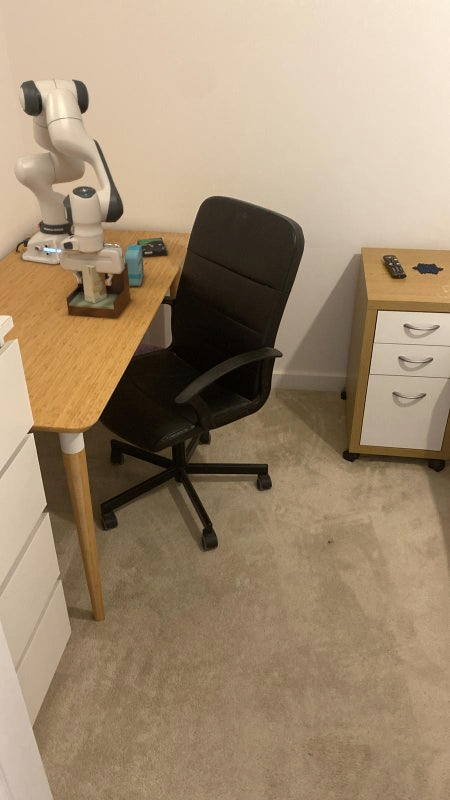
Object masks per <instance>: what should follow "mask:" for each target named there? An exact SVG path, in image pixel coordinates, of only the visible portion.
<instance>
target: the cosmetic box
mask: <svg viewBox="0 0 450 800" xmlns="http://www.w3.org/2000/svg"><path fill="white" fill-rule="evenodd" d="M82 275H83V285H84V294H85V301H88V302H92V303H97V302H99V301H101V300H103V299H105V298H107V293H106V283H105V273H100V272H96V267H95V266H92V265H82Z"/></svg>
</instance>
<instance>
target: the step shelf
mask: <svg viewBox="0 0 450 800" xmlns="http://www.w3.org/2000/svg"><path fill="white" fill-rule="evenodd" d="M124 267H125V268H124V270H123V271H122V272H121V273H120V274H114V275H113V277H112V279H111V282H112V284H111V286H106V293H107V298H105V299H103V300H101V301H99V302H97V303H92V302H88V301H85V294H84V285H83V283H82V284H78V283H77V282H76V284H77V286H76V287H75V288H74V289H73V291H71V292H70V294H68V296H66V306H67V312H68V314H67V315H68V316H77V317H87V318H88V317H90V318H100V319H101V318H102V319H114V320H115V319H116V320H117V319H118V318H119V317H120V315H121V314H122V312H123V311H124V310H125V308H126V307H127V305H129V303H130V302H131V291H130V286H129V277H128V265H127V262H125V261H124ZM78 273H79V275H80V276H81V277H83V275H82V271H79V272H78ZM109 277H110V276H108V273H105V280H106V279H109Z"/></svg>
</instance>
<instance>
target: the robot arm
mask: <svg viewBox="0 0 450 800" xmlns="http://www.w3.org/2000/svg"><path fill="white" fill-rule="evenodd" d="M18 92H19V93H18V99H19V104H20V106H21V108H22V110H23V112H24V113H25V114H26V115H27V116H30V117H32V129H33V139H34V141H35V143H36V144H37V145H38V146H39V147H41V148H42V149H44V150H46V151H48V152H43V153H32V154H27V155H25V156H21V157H18V158H17V159H16V161H15V163H14V167H13V168H14V170H13V171H14V175H15V178H16V180H17V181H18V182H19V183H20V184H21V185H22V186H24V187H25V188H27V189H29V191H31V192H32V193H33V194H34V196H35V198H36V199H37V202H38V204H39V208H40V213H41V221H39V222H38V224H37V225H36V226H37V229H38V228H39V231H38V232H37V233H35V234H34V235H33V236H32V237H27V238H24V239H23V240H22V241H20V242H19V243H17V245H16V248H15V252H18V251H19V247H20V246H21V245H22V244H23V247H24V248H26V250H25V251H24V253H22V256H21V258H22V260H23V261H27V262H33V263H40V264H47V265H48V264H49V265H57V264H60V268H61V269H62V270H63V271H70V272H72V275H73V276H74V278H75V279H76V284H77V283H78V284H82V283H83V277H81V276H80V275H79V273H78V272H79V271H82V265H92V266H95V267H96V272H100V273H108V276H110V277H109V279H106V280H105V283H106V286H111V284H112V282H111V279H112V277H113V275H114V274H120V273H121V272H122V271H123V270H124V268H125V267H124V263H125V259H124V249H123V247H122V246H121V245H119V244H118V243H111V242H110V243H109V242H105V235H104V229H103V226H102V223H107V224H108V223H110V224H111V223H117V222H118V221H119V220H120V219H121V218H122V216H123V215H124V202H123V200H122V197H121V195H120V192H119V190H118V188H117V187H116V184H115V182H114V179H113V176H112V173H111V171H110V167H109V165H108V162H107V160H106V157H105V154H104V151H103V150H102V148H101V146H100V144H99V142H98V141H97V140H96V139H94V138H92V137H91V136H90V135H89V133H88V132H87V129H86V128H85V123H84V119H83V115H84V114H85V113H86V112H87V111H88V110H89V105H90V94H89V91H88V89H87V85H86V84H85V83H84V82H83V81H82V80H77V79H65V78H52V79H51V78H50V79H49V78H48V79H39V80H33V79H30V80H26V81H23V82H22V83H21V85H20V87H19V91H18ZM85 162H86V163H87V164H89V165H90V166H91V167H92V168H93V170H94V172H95V175H96V178H97V180H98V183H99V186H100V188H101V189H100V190H96V189H95V188H94V187H92V186H87V185H81V186H77V187H75V188H73V189H72V190H71V192H70V193H68V194H67V195H65V194H63V193H62V192H61V193H60V192H58V191H55V190H54V189H53V185H57V184H58V185H59V184H65V183H72V182H74V181H77V180H81V179H82V178H83V177H84V175H85V172H86V163H85ZM78 284H77V285H78Z"/></svg>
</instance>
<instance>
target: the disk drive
mask: <svg viewBox="0 0 450 800" xmlns="http://www.w3.org/2000/svg"><path fill="white" fill-rule="evenodd" d="M137 245H141V246H142V254H143V258H148V257H161V256H167V255H168V251H167V250H168V249H167V247H166V244H165V242H164V239H163V238H162V237H153V238H151V237H150V238H144V239H143V238H142V239H139V238H138V239H137Z"/></svg>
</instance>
